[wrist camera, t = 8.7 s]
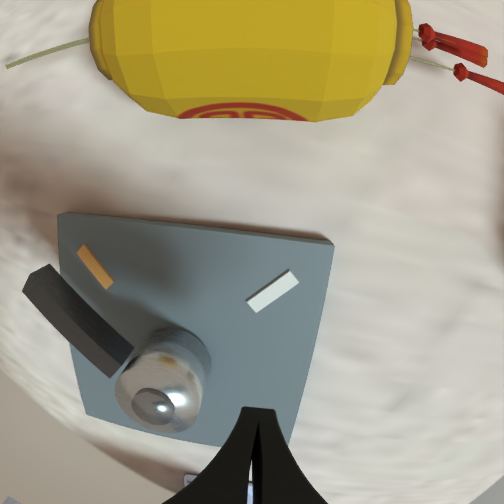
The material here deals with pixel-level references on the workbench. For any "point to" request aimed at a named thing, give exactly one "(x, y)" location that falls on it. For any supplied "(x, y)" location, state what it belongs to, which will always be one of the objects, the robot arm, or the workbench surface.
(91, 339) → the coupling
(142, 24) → the lantern
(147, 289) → the mounting plate
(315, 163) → the workbench surface
